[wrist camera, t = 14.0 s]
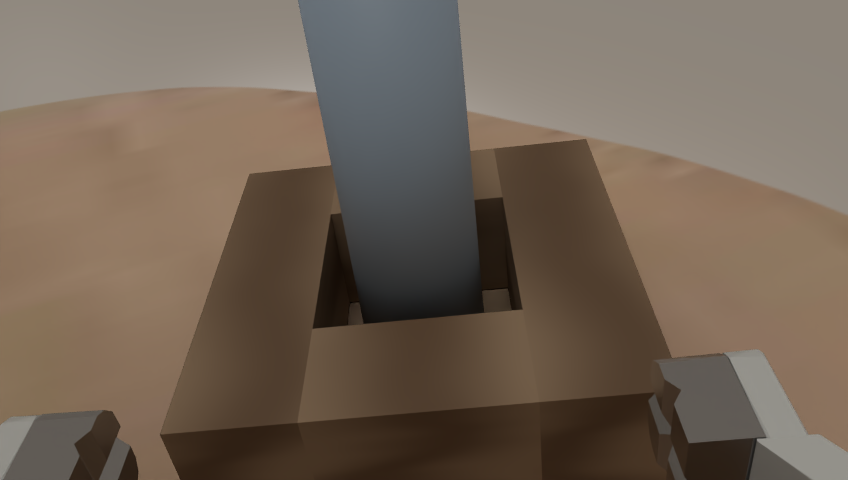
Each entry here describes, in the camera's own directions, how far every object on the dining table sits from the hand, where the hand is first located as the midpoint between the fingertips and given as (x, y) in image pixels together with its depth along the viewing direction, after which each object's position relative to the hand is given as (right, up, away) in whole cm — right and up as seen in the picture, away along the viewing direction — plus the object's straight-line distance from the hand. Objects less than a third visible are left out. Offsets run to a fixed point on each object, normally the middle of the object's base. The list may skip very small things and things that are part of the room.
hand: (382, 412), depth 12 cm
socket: (+1, -1, +15) cm, 15 cm away
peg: (+1, -1, +15) cm, 15 cm away
